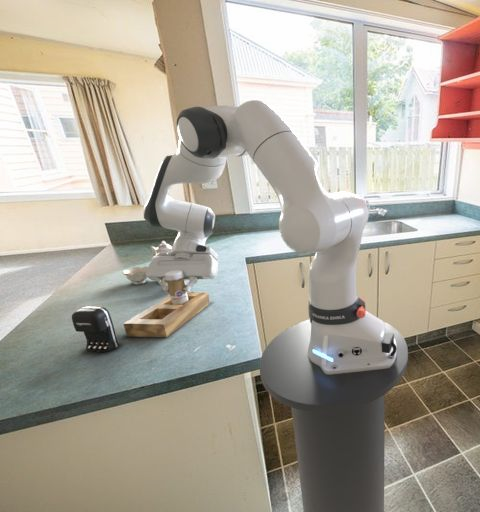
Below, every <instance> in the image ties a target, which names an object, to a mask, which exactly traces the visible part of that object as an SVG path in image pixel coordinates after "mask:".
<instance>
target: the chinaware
mask: <svg viewBox="0 0 480 512" xmlns="http://www.w3.org/2000/svg"><path fill="white" fill-rule="evenodd" d="M173 245H174V244H173ZM173 245H170V244H169V243H167V242H166V241H165V240H162V241H161V243H160V244H159V245H158V246H157V247H155V246H154V245H151V246H149V247H150V250H152V256H151V257H152V258H151V260H152V259H153V257H154V256H155V255H157V254H159V253H171V251H172V248H173ZM158 256H159V255H158ZM148 266H149V265H146V266H142V267H140V266H134V267H131V268H130V269H126V270H123V271H122V274H123V275H124V276H125V278H126V279H127V280H128V281H130V282H133V284H134V285H141V284H145V283H146V282H147V281H146V280H147V279H148V277H147V276H146V271H147V268H148ZM155 281H156V282H157V283H158V285H159V286H161V287H162V288H164V284H163V282H162V280H154V282H155Z"/></svg>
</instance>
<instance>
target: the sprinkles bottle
mask: <svg viewBox="0 0 480 512" xmlns="http://www.w3.org/2000/svg"><path fill="white" fill-rule="evenodd" d="M165 278H166V281H167V283H168V288H169V293H168V294H169V296H170V297H171V301H172V304H173V305H184V304H185V303H186V302H188V295H187V293H188V292H184V291H183V287H184V285H186V283H185V280H184V279H183V278H184V275H183V271H181V270H174V271H169V272H167V273H165Z"/></svg>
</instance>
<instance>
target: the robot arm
mask: <svg viewBox="0 0 480 512" xmlns="http://www.w3.org/2000/svg"><path fill="white" fill-rule="evenodd" d="M176 132H177V136H178V138H179V140H178V148H177V151H176V152H175V153H174V154H170V155H166V156H165V157H164V158H163V160H162V161H161V163H160V165H159V167H158V171H157V173H156V176H155V179H154V182H153V185H152V188H151V192H150V195H149V197H148V199H147V201H146V203H145V204H144V207H143V219H144V220H145V222H147V224H149V225H150V226H151V227H152V228H157V229H163V230H164V229H167V230H172V231H177V236H176V237H175V238H174V242H173V248H172V251H171V253H159V254H157V255H155V256H154V257H153V256H152V257H153V259H152V258H151V261H150V263H149V264H148V265H147V266H148V268H147V271H146V276H147V279H149V280H151V281H155V280H162V282H163V284H164V287H163V289H162V292H163V293H164V294H170V293H169V288H168V283H167V281H166V278H165V273H167V272H169V271H174V270H181V271H183V275H184V278H183V279H184V281H186V280H187V281H188V282H187V284H185V285H184V287H183V291H184V292H187V293H191V291H192V288H193V287H194V286H195V285H196V284H197V282H198V280H213V279H215V278H216V277H217V275H218V269H219V263H218V262H219V261H218V260H219V255H218V253H216V251H215V250H214V249H213V248H212V247H210V246H207V245H206V241H207V239H208V238H209V237H210V236H211V235H213V233H214V227H215V224H216V221H217V216H216V214H215V212H214V211H213V210H212V208H211V207H208V206H206V205H202V204H198V203H195V202H190V201H185V200H181V199H177V198H174V197H171V195H170V192H171V189H172V186H174V185H180V184H194V185H204V184H209V183H212V182H215V181H216V180H218V179H219V178H221V176H222V175H223V173H224V170H225V168H226V164H227V159H228V158H231V157H243V156H245V157H246V156H248V157H250V159H251V160H252V161H253V163H254V165H255V166H256V167H257V168H258V170H259V171H260V173H261V174H262V175H263V176H264V178H265V180H266V181H267V182H268V183H269V185H270V186H271V188H272V189H273V191H274V193H275V194H276V197H277V199H278V202H279V206H280V211H281V212H280V216H279V220H278V231H279V234H280V237H281V239H282V241H283V242H284V244H285V246H287V247H288V248H289V249H290V250H292V251H293V252H296V253H298V254H313V253H315V254H314V256H313V260H312V261H311V263H310V264H309V267H308V271H307V279H308V291H309V300H308V305H307V306H308V309H307V310H308V318H309V319H310V323H311V337H310V344H309V348H308V357H309V359H310V360H311V361H312V362H313V363H314V364H316V365H318V366H320V367H321V369H322V370H323V372H324V373H325V374H327V375H332V374H341V373H350V372H360V371H369V370H378V369H387V368H390V367H391V366H392V365H393V363H394V362H395V359H396V355H397V346H396V341H395V338H394V333H392V332H387V330H386V327H385V324H384V322H385V321H384V320H382V319H380V318H379V317H377V316H375V315H374V314H373V313H371V312H370V311H367V310H366V299H365V296H363V297H362V298H361V297H359V296H358V295H357V293H358V292H357V291H358V289H357V267H358V259H359V253H360V249H361V242H362V239H363V233H364V230H365V227H366V225H367V223H368V221H369V216H370V215H369V213H370V211H369V208H368V205H367V202H366V201H365V200H364V199H363V198H362V197H361V196H359V195H358V194H355V193H352V192H346V191H338V192H332V193H328V192H327V191H326V190H325V189H324V188H323V185H322V184H321V181H320V179H319V176H318V171H319V166H318V162H317V160H316V159H315V158H314V156H313V154H311V152H310V151H309V150H308V148H307V147H306V145H305V144H304V143H303V141H302V140H301V139H300V138H299V136H298V135H297V134H296V133H295V131H294V130H293V128H292V127H291V126H290V124H288V123H287V121H285V119H284V118H283V117H282V116H281V115H280V114H279V113H278V112H277V111H276V110H274V109H273V108H272V107H271V106H270V105H269V104H268V103H266V102H264V101H262V100H257V99H256V100H255V99H251V100H247V101H245V102H243V103H241V104H239V106H233V105H232V106H231V105H211V106H210V105H208V106H204V107H202V106H192V107H188V108H185V109H183V110H181V111H180V112H179V114H178V116H177V119H176ZM158 255H159V256H158ZM383 321H384V322H383Z"/></svg>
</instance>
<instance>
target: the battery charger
mask: <svg viewBox="0 0 480 512" xmlns="http://www.w3.org/2000/svg"><path fill="white" fill-rule="evenodd" d="M71 321H72V325H73V328H74V330H75V332H78V333H83V334H84V336H85V339H86V344H85V345H86V346H85V348H86V349H85V350H86V351H87V352H93V353H94V352H95V353H107V352H110V351H112V350H114V349H116V348H118V347H119V346H120V343H119V340H118V337H117V334H116V330H115V326H114V323H113V320H112V316H111V314H110V311H109V310H108V309H107V308H106V307H103V306H85V307H81V308H80V309H78V310H76V311H74V312H73V313H72V315H71Z"/></svg>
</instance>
